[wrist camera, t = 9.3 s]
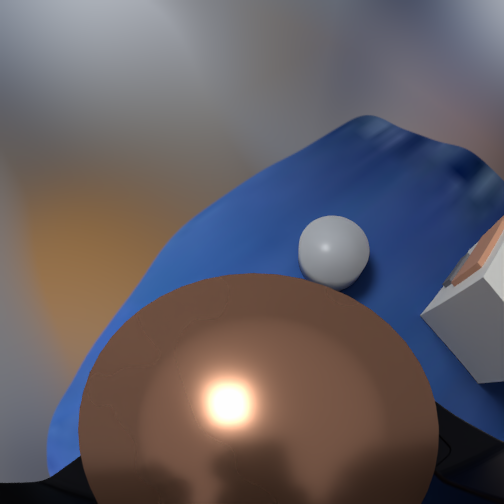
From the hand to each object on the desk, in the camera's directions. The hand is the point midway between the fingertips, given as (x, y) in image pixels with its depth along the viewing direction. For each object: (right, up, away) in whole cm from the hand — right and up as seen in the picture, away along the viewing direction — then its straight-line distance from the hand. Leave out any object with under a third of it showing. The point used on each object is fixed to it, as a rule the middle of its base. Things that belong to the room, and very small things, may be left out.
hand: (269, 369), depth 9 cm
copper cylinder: (+1, -4, +5) cm, 7 cm away
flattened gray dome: (+5, +3, +14) cm, 15 cm away
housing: (+18, -1, +10) cm, 20 cm away
